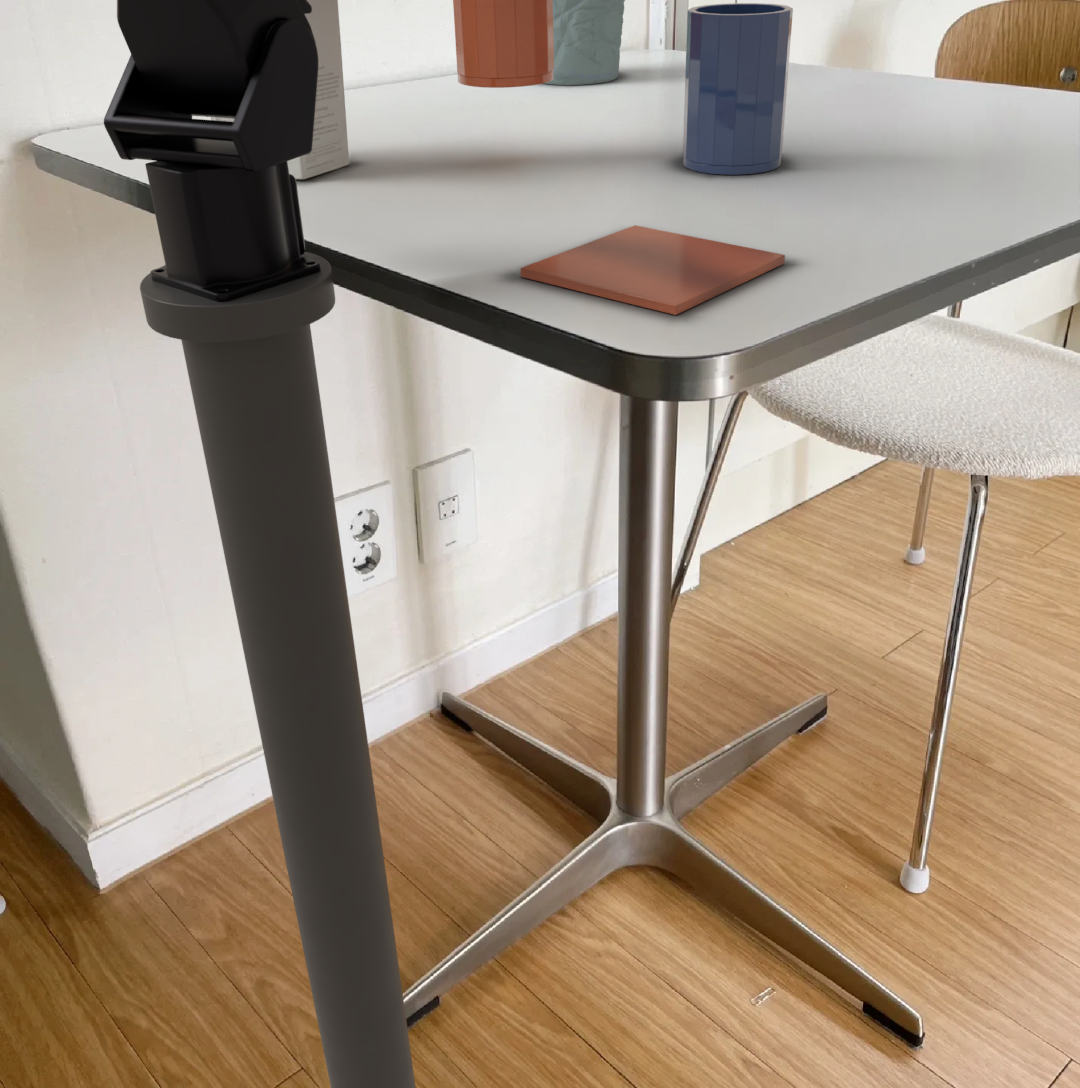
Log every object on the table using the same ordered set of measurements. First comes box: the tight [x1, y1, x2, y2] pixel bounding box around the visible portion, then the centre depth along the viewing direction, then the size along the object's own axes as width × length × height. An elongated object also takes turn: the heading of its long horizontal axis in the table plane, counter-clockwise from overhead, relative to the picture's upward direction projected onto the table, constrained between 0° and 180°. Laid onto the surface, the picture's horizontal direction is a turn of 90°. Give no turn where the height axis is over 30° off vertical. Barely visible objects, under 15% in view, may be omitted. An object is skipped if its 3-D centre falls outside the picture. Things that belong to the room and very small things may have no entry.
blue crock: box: [682, 2, 794, 176], centre depth 79 cm, size 7×7×10 cm
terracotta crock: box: [452, 0, 554, 89], centre depth 79 cm, size 7×7×10 cm
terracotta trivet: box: [519, 225, 786, 316], centre depth 61 cm, size 10×10×1 cm
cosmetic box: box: [210, 0, 350, 180], centre depth 80 cm, size 8×6×15 cm
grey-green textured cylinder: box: [544, 0, 626, 86], centre depth 112 cm, size 10×10×12 cm
